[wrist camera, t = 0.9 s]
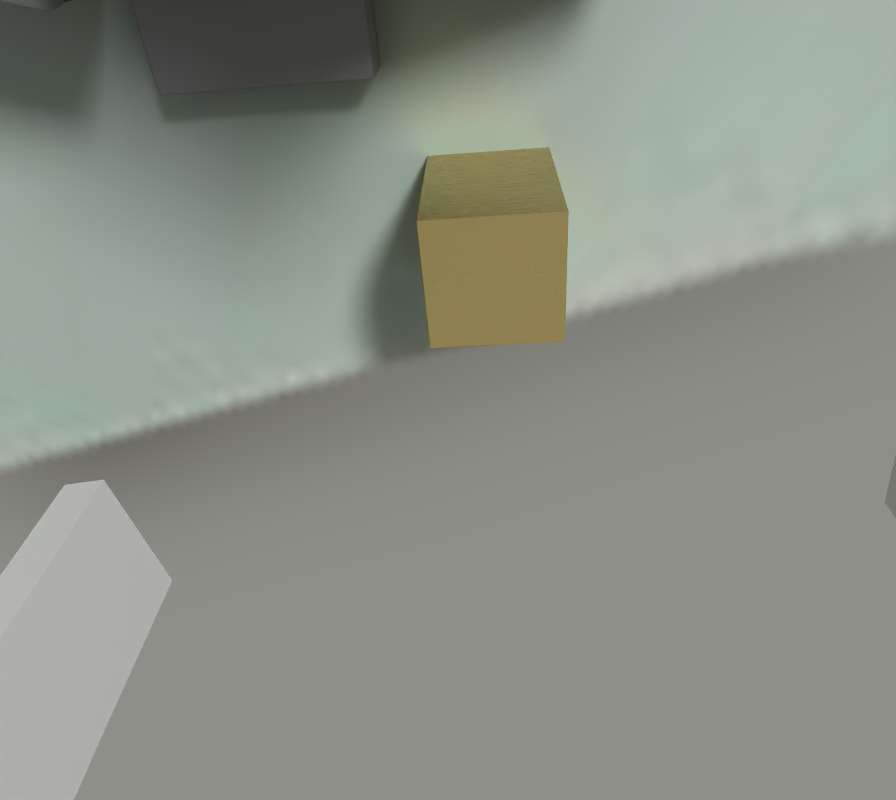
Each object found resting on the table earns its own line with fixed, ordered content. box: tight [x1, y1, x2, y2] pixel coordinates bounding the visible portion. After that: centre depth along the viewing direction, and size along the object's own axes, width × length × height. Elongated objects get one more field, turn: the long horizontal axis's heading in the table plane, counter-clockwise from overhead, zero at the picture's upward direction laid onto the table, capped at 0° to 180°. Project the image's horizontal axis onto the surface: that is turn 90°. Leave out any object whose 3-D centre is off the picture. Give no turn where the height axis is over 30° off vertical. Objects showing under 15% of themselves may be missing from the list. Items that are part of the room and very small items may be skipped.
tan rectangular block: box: [417, 147, 568, 348], centre depth 27 cm, size 5×5×7 cm
